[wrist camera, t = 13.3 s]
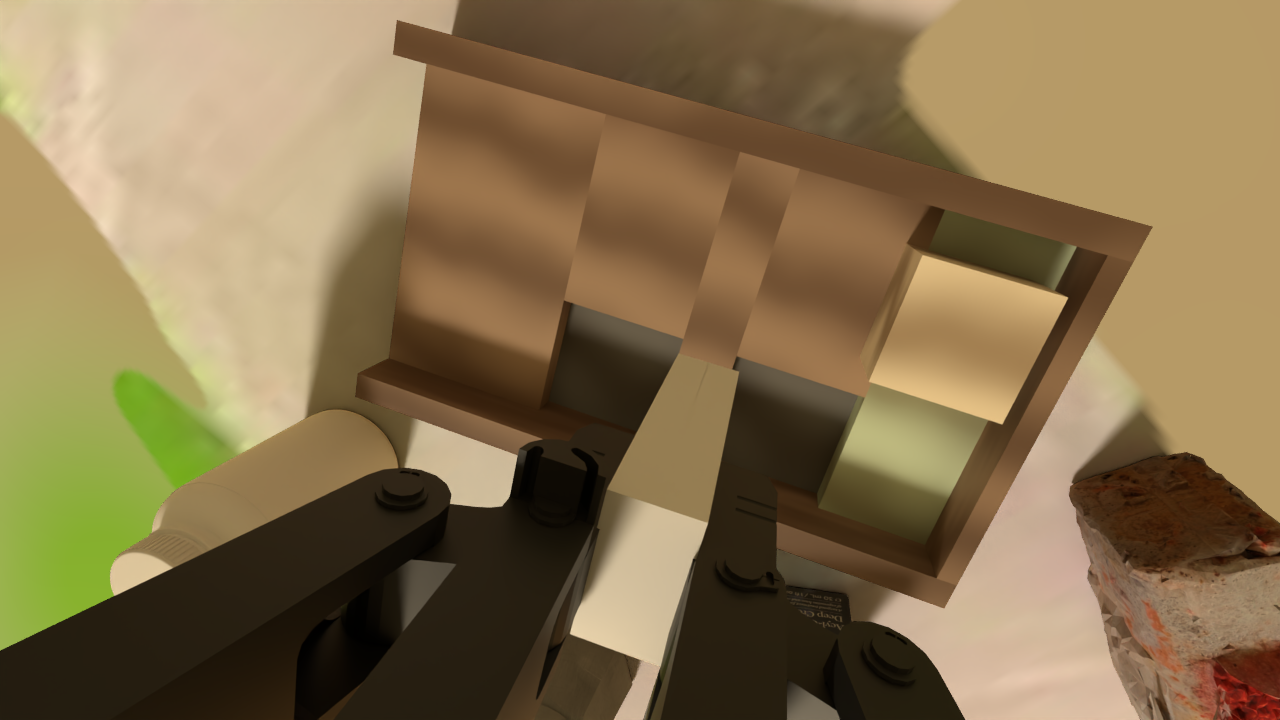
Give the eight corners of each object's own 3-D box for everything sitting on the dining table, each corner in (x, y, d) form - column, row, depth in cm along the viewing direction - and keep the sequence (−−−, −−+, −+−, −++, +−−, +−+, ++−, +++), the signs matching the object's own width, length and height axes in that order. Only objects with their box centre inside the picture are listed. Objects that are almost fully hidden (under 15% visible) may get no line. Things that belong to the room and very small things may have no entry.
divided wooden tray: (450, 39, 34) (397, 20, 30) (1096, 216, 30) (1152, 226, 25) (404, 370, 41) (355, 396, 37) (924, 552, 37) (944, 608, 32)
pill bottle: (394, 525, 45) (219, 687, 31) (297, 484, 46) (84, 625, 32) (411, 430, 42) (227, 562, 29) (307, 389, 43) (79, 498, 29)
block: (906, 243, 30) (922, 255, 27) (1033, 280, 30) (1068, 297, 26) (859, 356, 32) (868, 381, 29) (977, 393, 32) (1002, 424, 28)
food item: (1271, 654, 34) (1446, 833, 25) (1108, 683, 37) (1214, 856, 28) (1201, 438, 32) (1367, 550, 23) (1032, 486, 35) (1120, 604, 25)
